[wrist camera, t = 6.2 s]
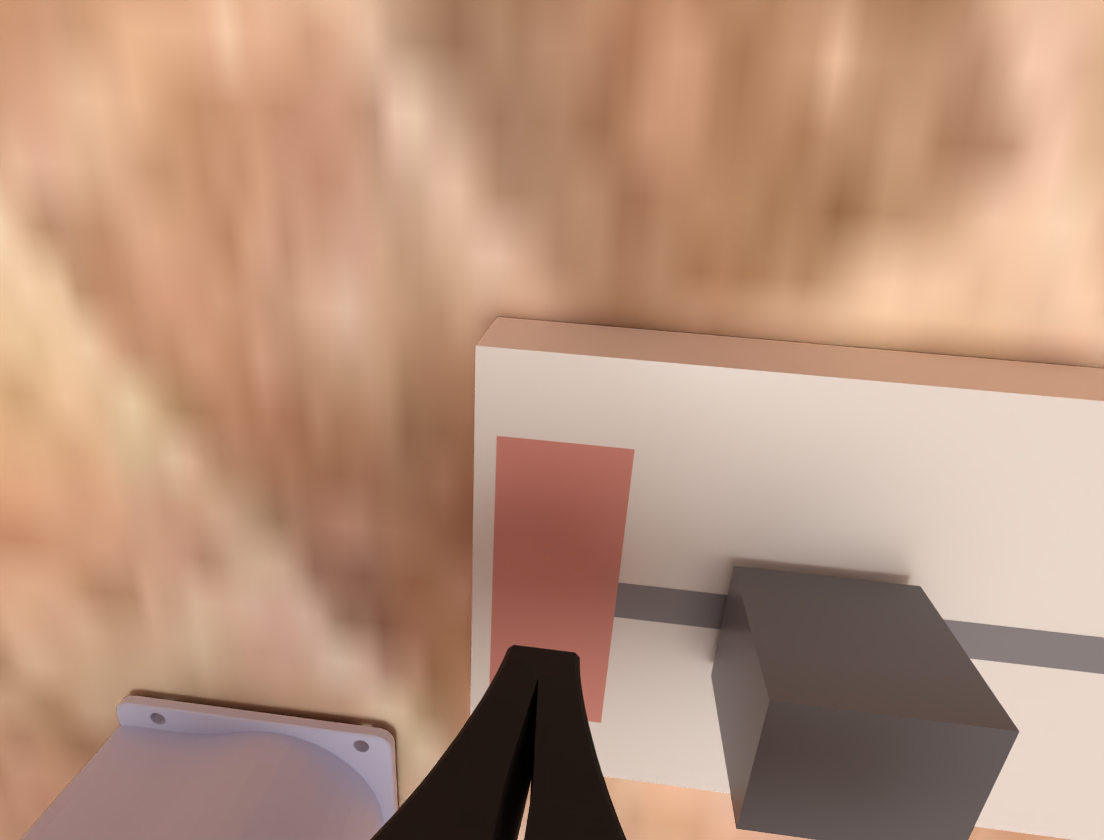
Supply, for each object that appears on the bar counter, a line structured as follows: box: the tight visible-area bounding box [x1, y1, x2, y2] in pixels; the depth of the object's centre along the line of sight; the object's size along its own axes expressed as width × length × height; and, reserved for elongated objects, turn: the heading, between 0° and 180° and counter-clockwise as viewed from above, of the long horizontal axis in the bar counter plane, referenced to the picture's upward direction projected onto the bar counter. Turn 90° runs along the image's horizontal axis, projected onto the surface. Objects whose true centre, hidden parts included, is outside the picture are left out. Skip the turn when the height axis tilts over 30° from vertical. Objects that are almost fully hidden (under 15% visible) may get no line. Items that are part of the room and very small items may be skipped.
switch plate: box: [470, 317, 1104, 840], centre depth 16 cm, size 20×12×2 cm, turn 87°
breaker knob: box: [711, 566, 1019, 840], centre depth 13 cm, size 4×3×4 cm
